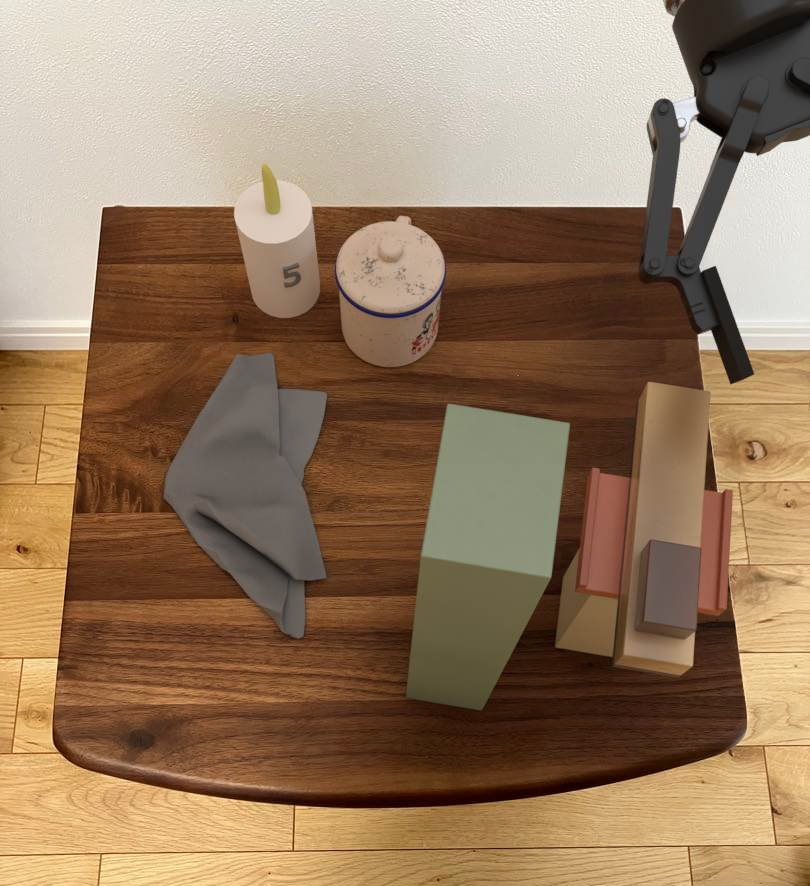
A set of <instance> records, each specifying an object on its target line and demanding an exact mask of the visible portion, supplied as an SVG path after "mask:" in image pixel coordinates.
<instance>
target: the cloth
mask: <svg viewBox="0 0 810 886" xmlns="http://www.w3.org/2000/svg"><path fill="white" fill-rule="evenodd" d="M327 401H328V394H327V393H326V392H325V391H318V390H309V389H298V388H297V389H295V388H282V389H281V388H280V389H279V388H278V381H277V372H276V363H275V354H274V353H271V352H266V353H260V354H254V355H247V354H242V353H239V352H238V353H237V354H236V355H235V357H234V358H233V360H232V362H231V364H230V365H229V367H228V368H227V370H226V371H225V373H224V375H223V376H222V377H221V380H220V381H219V383H218V384H217V386H216V388H215V389H214V391H213V392H212V393H211V395H210V397H209V398H208V400H207V401H206V403H205V404H204V406H203V407H202V408H201V410H200V412H199V413H198V415H197V417H196V419H195V420H194V423H193V424H192V426H191V427H190V429H189V431H188V433H187V435H186V436H185V438H184V439H183V442H182V443H181V446H180V447H179V449H178V451H177V452H176V455H175V456H174V459H173V460H172V462H171V463H170V465H169V466H168V470H167V472H166V475H165V479H164V488H163V489H164V490H163V499H164V500H165V501H166V502H167V503H168V504H169V506H171V507H172V509H173V511H174V512H175V513H176V515H177V516H178V518H179V519H180V520H181V522H182V524H183V525H184V527H185V528H186V529H187V531H188V533H189V534H190V535H191V537H192V539H193V540H194V541H195V543H197V545H198V546H199V547H200V548H201V550H203V551H204V552H205V553H206V554H207V555H208V556H209V557H210V558H211V559H212V560H213V561H214V562H215V564H217V565H218V566H219V567H220V569H222V570H224V571H226V572H227V573H229V574H230V575H231V576H232V579H234V580H235V581H236V583H237V584H238V585H239V586H240V588H241V589H242V590H243V591H244V593H246V595H247V596H248V597H249V598H250V599H251V600H252V601H253V602H254V603H255V604H256V605H257V606H258V607H259V608H260V609H262V610H263V611H264V612H265V613H266V614H267V615H268V616H269V617H270V618H271V619H272V620H273V621H274V623H275V624H276V625H277V627H278V628H279V630H280V631H281V632H282V633H284V634H286V635H288V636H290V637H292V638H293V639H296V640H300V639H302V638H304V635H305V627H306V619H307V618H306V616H307V615H306V593H305V592H306V590H305V582H306V581H307V582H312V581H313V582H314V581H319V580H320V581H321V580H326V579H328V577H327V572H326V568H325V563H324V559H323V556H322V550H321V548H320V547H321V546H320V542H319V539H318V535H317V531H316V528H315V525H314V521H313V518H312V514H311V510H310V506H309V502H308V498H307V494H306V491H305V489H304V487H303V485H302V484H303V480H304V477H305V468H306V466H307V464H308V463H309V461H310V460H311V457H312V456H313V453H314V451H315V449H316V446H317V443H318V440H319V438H320V434H321V430H322V426H323V422H324V418H325V415H326V408H327V407H326V406H327Z"/></svg>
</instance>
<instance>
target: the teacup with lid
mask: <svg viewBox="0 0 810 886" xmlns="http://www.w3.org/2000/svg"><path fill="white" fill-rule="evenodd" d="M334 278H335V283H336V285H337V287H338V293H339V295H338V296H339V305H340V306H339V309H340V321H341V331H342V335H343V339H344V341H345V343H346V345H347V346H348V348H349V350H350V351H352V352H353V353H354V354H355V355H356V356H357V357H358V358H359V359H361V360H362V361H364V362H366V363H368V364H370V365H374V366H376V367H377V366H378V367H383V368H398V367H405V366H407V365H410V364H412V363H414V362H416V361H418V360H419V359H421V358H422V357H424V356H425V355H426V354H427V353H428V352H429V351H430V350H431V348H432V346H434V343H435V341H436V339H437V337H438V332H439V331H438V330H439V324H440V323H439V322H440V312H441V301H442V291H443V288H444V285H445V282H446V278H447V265H446V261H445V257H444V254H443V252H442V250H441V249H440V247H439V245H438V244H437V242H436V241H435V240H434V239H433V238H432V236H430V235H429V234H428V233H426V232H425V231H424V230H422V229H421V228H419V227H416V226H414V225H412V218H410V217H409V216H408V215H399V216H397V218H396V219H395V221H389V220H388V221H379V222H375V223H371V224H368V225H366V226H363V227H362V228H359V229H358V230H356V231H355V232H354V233H353V234H351V235H350V236H349V237H348V238H347V239H346V240H345V242H344V243H343V244H342V246H341V247H340V249H339V252H338V254H337V256H336V258H335V263H334Z"/></svg>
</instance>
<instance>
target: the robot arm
mask: <svg viewBox="0 0 810 886" xmlns="http://www.w3.org/2000/svg"><path fill="white" fill-rule="evenodd" d="M662 3H663V6H664V8H665V11H666V13H667V14H669V15H670V16H672V17H674V19H673V20H672V25H671V29H672V32H673V35H674V38H675V40H676V43H677V46H678V49H679V51H680V54H681V57H682V60H683V63H684V66H685V69H686V71H687V75H688V77H689V80H690V82H691V84H692V87H693V96H692V97H689V98H685V99H683V100H679V101H675V102H673V101H671V100H670V99H668V98H659V99H658V100H656V101H655V102H654V103H653V106H652V109H651V110H650V113H649V116H648V119H647V122H646V131H647V136H648V140H649V146H650V149H651V154H652V160H651V168H650V175H649V183H648V184H649V185H648V191H647V200H646V207H645V215H644V221H643V222H644V224H643V232H642V239H641V247H640V254H639V262H638V271H637V276H638V277H637V278H638V279H639V281H640V282H641V283H642V284H644V285H651V284H653V283H668V284H669V283H670V284H671V285H672V286H675V288H676V289H677V292H678V294H679V297H680V299H681V302H682V305H683V309H684V311H685V313H686V316H687V318H688V321H689V324H690V327H691V329H692V330H693V331H694V333H696V335H697V336H699V335H701V334H704V333H707V332H709V331H710V332H711V333H712V334H711V335H712V337H713V339H714V344H715V345H716V348H717V351H718V354H719V356H720V360H721V362H722V365H723V368H724V371H725V374H726V376H727V379H728V382H729V384H730V385H733V384H736V383H739V382H741V381H744V380H746V379H749V378H750V377H752V376H754V375H755V372H754V368H753V366H752V364H751V361H750V358H749V355H748V352H747V349H746V347H745V344H744V341H743V338H742V335H741V333H740V330H739V327H738V323H737V321H736V318H735V316H734V313H733V311H732V308H731V305H730V301H729V299H728V296H727V292H726V291H725V287H724V284H723V282H722V279H721V277H720V274H719V270H718V268H717V266H716V265H714V266H711V267H709V268H706V269H703V270H701V268H700V266H701V263H702V260H703V258H704V255H705V252H706V249H707V247H708V244H709V242H710V239H711V237H712V234H713V231H714V229H715V226H716V223H717V221H718V220H719V216H720V214H721V211H722V208H723V205H724V203H725V201H726V198H727V195H728V193H729V190H730V188H731V185H732V183H733V181H734V178H735V175H736V172H737V170H738V167H739V165H740V163H741V161H742V158H743V156H744V154H745V153H748V154H756V157H758V156H761V155H764V154H766V153H769V152H770V151H773V150H774V149H775V148H776V147H778V146H779V145H781V144H782V143H789V142H797V141H800V140H803V139H805V138H808V137H809V136H810V0H662ZM694 121H696V122H697V123H698V124H699V125H701V126H702V127H704V128H705V129H707V130H709V131H710V132H712V133H713V134H715V135H717V137H719V138H720V140H719V143H718V146H717V148H716V151H715V154H714V157H713V159H712V161H711V164H710V166H709V171H708V174H707V176H706V179H705V181H704V184H703V187H702V189H701V192H700V195H699V197H698V200H697V203H696V205H695V208H694V210H693V213H692V215H691V218H690V220H689V224H688V226H687V228H686V231H685V233H684V237H683V239H682V241H681V244H680V247H679V249H678V251H677V254H673V255H671V254H669V255H668V245H669V239H670V230H671V224H672V215H673V208H674V207H673V206H674V200H675V191H676V184H677V177H678V169H679V161H680V153H681V144H682V143H683V142H685V140H686V138H687V137H688V135H689V132H690V129H691V123H692V122H694Z"/></svg>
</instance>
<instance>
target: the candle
mask: <svg viewBox="0 0 810 886" xmlns="http://www.w3.org/2000/svg"><path fill="white" fill-rule="evenodd" d="M261 177H262V178H261V179H262V181H259V182H257V183H255V184H253V185H250V186H249V187H247V188H246V189H245V190H244V191H242V193H241V194H240V196H239V197H238V198H237V200H236V203H235V204H234V209H233V217H234V221H235V226H236V230H237V234H238V239H239V244H240V248H241V253H242V257H243V262H244V266H245V270H246V276H247V279H248V283H249V289H250V293H251V298H252V300H253V302H254V303H255V305H256V307H257V308H258V309H259V310H261V312H263V313H264V314H267V315H269V316H270V317H275V318H278V319H291V318H296V317H299V316H301V315H303V314H306V313H307V312H308V311H310V309H312V308H313V307H314V305H315V304H316V303H317V301H318V300H319V297H320V294H321V280H320V269H319V261H318V251H317V244H316V243H317V241H316V234H315V223H314V215H313V206H312V202H311V199H310V198H309V196H308V195H307V193H306V192H305V191H304V190H302V189H301V188H300V187H299V186H297V185H295V184H293V183H292V182H289V181H285V180H279V179H276V177H275V175H274V172H273V171H272V169H271V168H270V166H268V164H266V163H262V164H261Z"/></svg>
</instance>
